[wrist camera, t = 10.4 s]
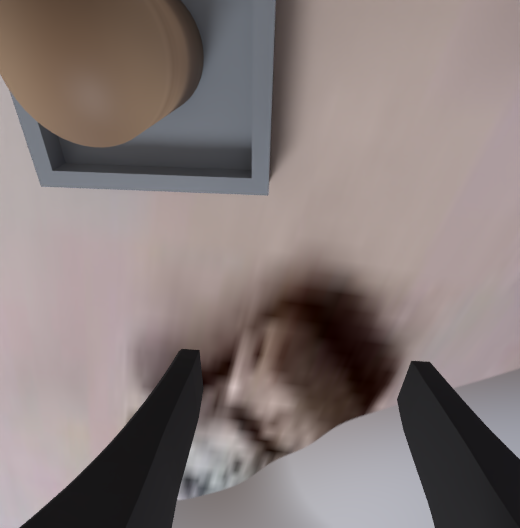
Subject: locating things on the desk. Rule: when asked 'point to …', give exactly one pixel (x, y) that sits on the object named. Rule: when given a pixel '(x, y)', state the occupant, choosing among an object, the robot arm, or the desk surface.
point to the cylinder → (99, 64)
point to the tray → (187, 119)
